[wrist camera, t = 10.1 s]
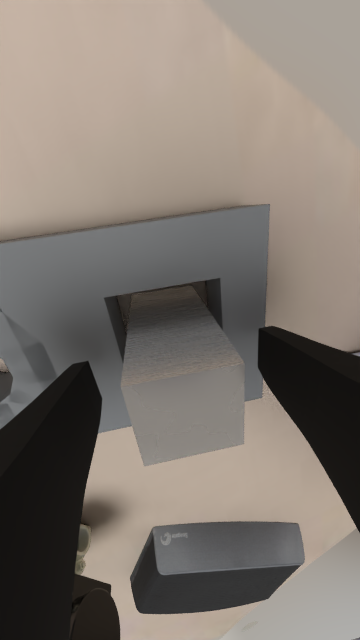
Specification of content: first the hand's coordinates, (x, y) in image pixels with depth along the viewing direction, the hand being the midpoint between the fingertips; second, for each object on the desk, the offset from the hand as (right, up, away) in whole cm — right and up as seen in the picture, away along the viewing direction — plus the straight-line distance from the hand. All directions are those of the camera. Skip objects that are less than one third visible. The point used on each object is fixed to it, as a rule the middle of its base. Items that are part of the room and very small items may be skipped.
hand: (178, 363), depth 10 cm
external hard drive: (+4, -27, +20) cm, 34 cm away
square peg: (-1, +2, +5) cm, 5 cm away
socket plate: (-6, +1, +4) cm, 7 cm away
